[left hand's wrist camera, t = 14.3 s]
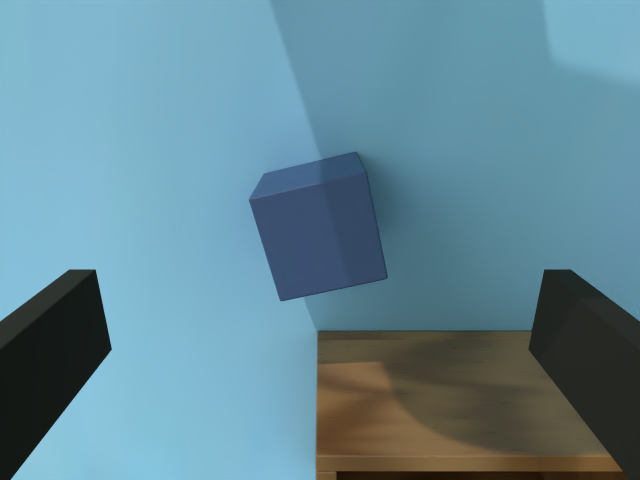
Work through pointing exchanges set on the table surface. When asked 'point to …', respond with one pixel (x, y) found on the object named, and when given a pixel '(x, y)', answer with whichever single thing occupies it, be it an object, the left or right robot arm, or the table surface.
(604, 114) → the table surface
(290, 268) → the block
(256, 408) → the table surface
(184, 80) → the table surface
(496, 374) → the chest
